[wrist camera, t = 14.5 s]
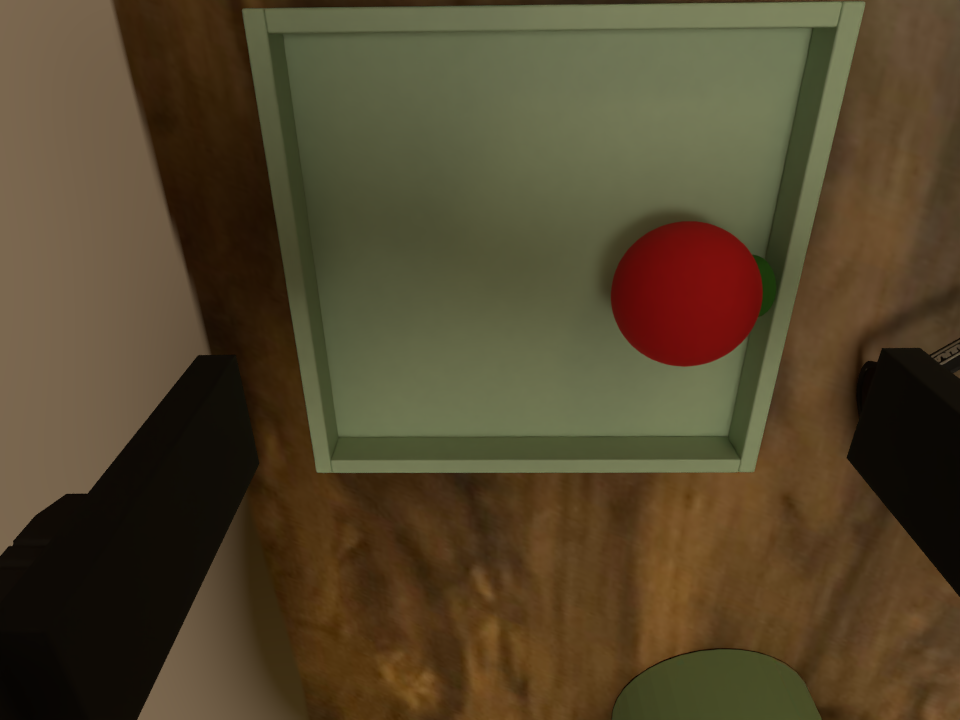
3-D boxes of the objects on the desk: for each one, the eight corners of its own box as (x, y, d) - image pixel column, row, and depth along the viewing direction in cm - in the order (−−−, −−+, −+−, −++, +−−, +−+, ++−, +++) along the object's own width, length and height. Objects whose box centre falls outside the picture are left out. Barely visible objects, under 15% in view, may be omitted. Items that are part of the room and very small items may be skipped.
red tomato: (648, 404, 19) (782, 380, 20) (679, 260, 16) (828, 245, 18) (578, 333, 22) (696, 317, 24) (595, 206, 20) (725, 197, 21)
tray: (327, 442, 26) (316, 473, 24) (263, 8, 19) (240, 8, 17) (736, 441, 26) (755, 473, 24) (831, 2, 18) (867, 0, 17)
